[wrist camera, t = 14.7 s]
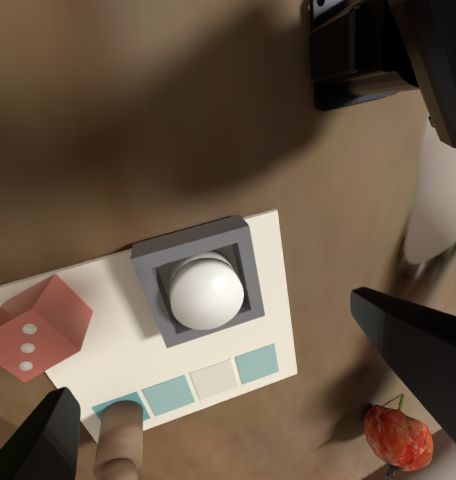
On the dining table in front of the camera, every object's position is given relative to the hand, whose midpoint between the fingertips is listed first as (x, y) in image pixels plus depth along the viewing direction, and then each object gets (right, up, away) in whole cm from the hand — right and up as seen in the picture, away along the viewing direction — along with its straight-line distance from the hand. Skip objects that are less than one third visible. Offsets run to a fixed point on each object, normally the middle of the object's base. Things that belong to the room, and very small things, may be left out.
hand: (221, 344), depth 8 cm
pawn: (-10, -13, +17) cm, 24 cm away
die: (-13, -2, +11) cm, 17 cm away
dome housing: (-2, +1, +13) cm, 13 cm away
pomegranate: (+21, -20, +29) cm, 41 cm away
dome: (-2, 0, +13) cm, 13 cm away
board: (-4, -6, +16) cm, 17 cm away
